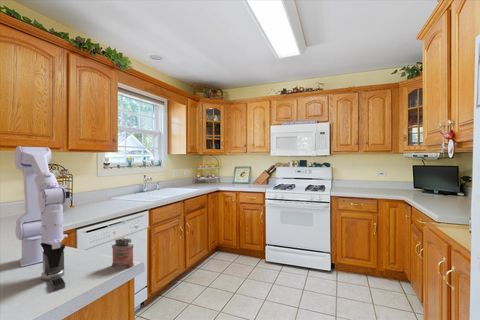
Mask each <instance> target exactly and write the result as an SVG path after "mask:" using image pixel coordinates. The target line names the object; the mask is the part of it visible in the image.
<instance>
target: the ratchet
mask: <svg viewBox="0 0 480 320" xmlns="http://www.w3.org/2000/svg"><path fill="white" fill-rule="evenodd" d="M63 276H65V268H64V269H63V270H59V271H56V272H52V273H48V274H44V271H43V272H42V273H41V281H42V282H48V281H49V282H50V283H51V287H52V289H53V291H54V292H56V291H59V290H60V291H61V290H62V289H65V288H66V282H65V280H64V278H63Z"/></svg>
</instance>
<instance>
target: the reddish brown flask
mask: <svg viewBox="0 0 480 320" xmlns="http://www.w3.org/2000/svg"><path fill="white" fill-rule="evenodd" d="M114 241H115V243H114V244H112V245H111V249H112V263H111V267H113V268H116V269H117V268H118V269H130V268H133V267H134V266H135V263H134V244H132V238H125V237H121V238H115V240H114Z"/></svg>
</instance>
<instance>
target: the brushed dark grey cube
mask: <svg viewBox="0 0 480 320" xmlns="http://www.w3.org/2000/svg"><path fill="white" fill-rule="evenodd" d="M63 269H64V270H65V250H63V252H62V255H61V258H60V263H59V266H58V267H56V268H52V269H50V266H49V262H48V258H47V255H46V253H45V252H44V251H43V262H42V271H43V272H44V274H48V273H52V272H56V271H59V270H63Z"/></svg>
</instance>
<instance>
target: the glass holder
mask: <svg viewBox="0 0 480 320" xmlns="http://www.w3.org/2000/svg"><path fill="white" fill-rule="evenodd" d="M65 193H66V200H65V203H64V204H63V213H69V212H71V211H72V210H71V193H70V191H65ZM68 211H69V212H68Z"/></svg>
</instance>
